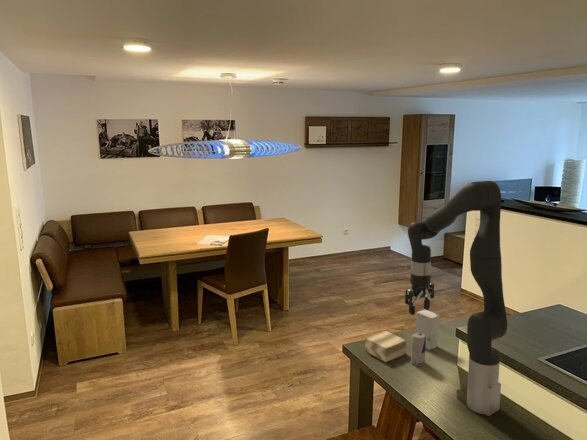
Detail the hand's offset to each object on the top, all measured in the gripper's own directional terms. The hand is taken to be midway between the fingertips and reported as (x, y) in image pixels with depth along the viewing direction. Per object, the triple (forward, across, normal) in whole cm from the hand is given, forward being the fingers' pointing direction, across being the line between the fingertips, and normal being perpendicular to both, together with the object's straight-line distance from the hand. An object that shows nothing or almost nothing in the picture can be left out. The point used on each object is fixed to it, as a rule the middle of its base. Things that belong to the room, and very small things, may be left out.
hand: (419, 311), depth 173 cm
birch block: (+22, -4, +14) cm, 26 cm away
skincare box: (+22, +15, +8) cm, 28 cm away
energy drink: (+22, 0, 0) cm, 22 cm away
